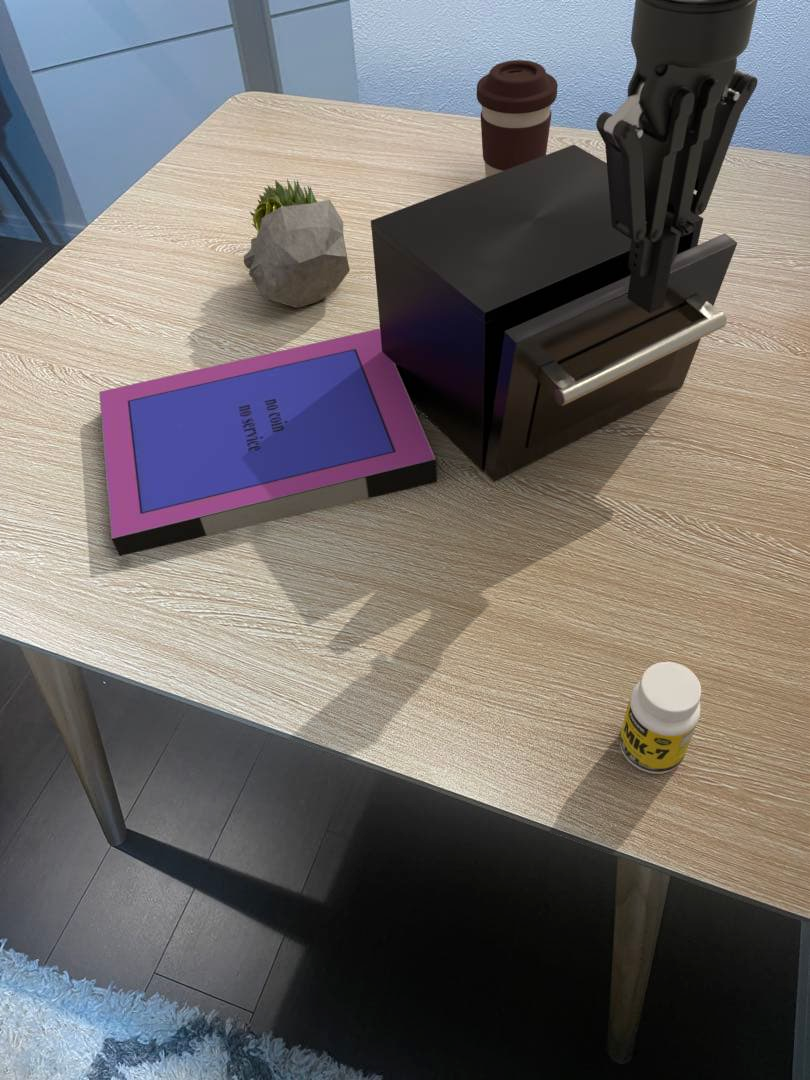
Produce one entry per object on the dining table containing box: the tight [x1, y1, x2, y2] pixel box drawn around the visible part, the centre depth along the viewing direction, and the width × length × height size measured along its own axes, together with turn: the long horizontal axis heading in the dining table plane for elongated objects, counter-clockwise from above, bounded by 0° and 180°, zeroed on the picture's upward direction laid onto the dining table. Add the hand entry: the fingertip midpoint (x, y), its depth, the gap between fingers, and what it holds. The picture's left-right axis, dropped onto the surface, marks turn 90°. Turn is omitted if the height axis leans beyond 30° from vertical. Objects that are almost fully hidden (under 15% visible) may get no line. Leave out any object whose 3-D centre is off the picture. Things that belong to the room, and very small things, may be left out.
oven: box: [370, 144, 704, 472], centre depth 90 cm, size 18×24×18 cm
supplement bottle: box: [619, 661, 702, 775], centre depth 64 cm, size 5×5×8 cm
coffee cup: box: [476, 59, 559, 178], centre depth 117 cm, size 10×10×15 cm
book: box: [98, 327, 438, 557], centre depth 90 cm, size 21×3×30 cm
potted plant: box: [243, 178, 351, 309], centre depth 106 cm, size 12×13×15 cm
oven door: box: [483, 233, 738, 483], centre depth 82 cm, size 5×24×18 cm, turn 122°
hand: (645, 302), depth 75 cm, fingers closed
